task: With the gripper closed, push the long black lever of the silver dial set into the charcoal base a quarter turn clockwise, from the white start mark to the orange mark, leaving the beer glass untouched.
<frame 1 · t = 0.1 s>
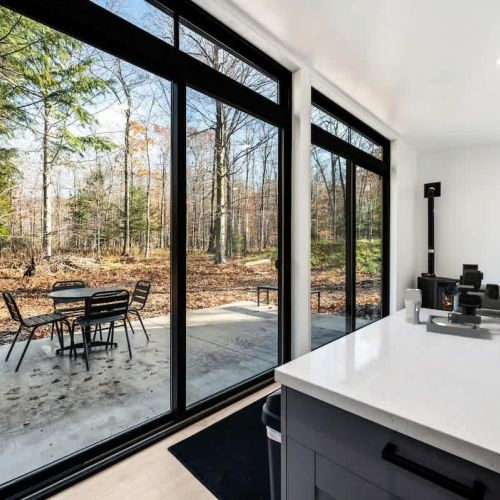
hand: (471, 292, 126), 17 cm above the counter, tool horizontal, fingers open, 9 cm apart
dial base: (452, 329, 133), on the counter
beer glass: (412, 322, 145), on the counter
dial: (455, 319, 132), point 4 cm above the counter, hinge at 0.0°
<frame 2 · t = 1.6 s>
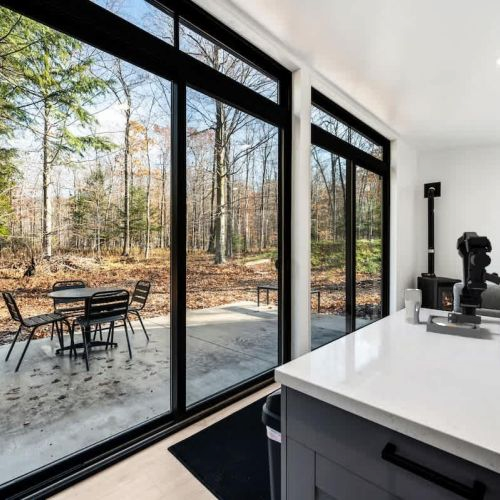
hand: (475, 303, 133), 11 cm above the counter, tool pointing down, fingers open, 8 cm apart
nothing on the counter moved.
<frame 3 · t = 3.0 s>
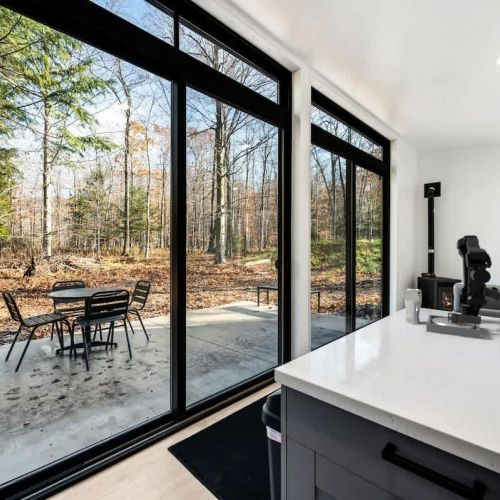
hand: (475, 317, 133), 5 cm above the counter, tool pointing down, fingers closed
nothing on the counter moved.
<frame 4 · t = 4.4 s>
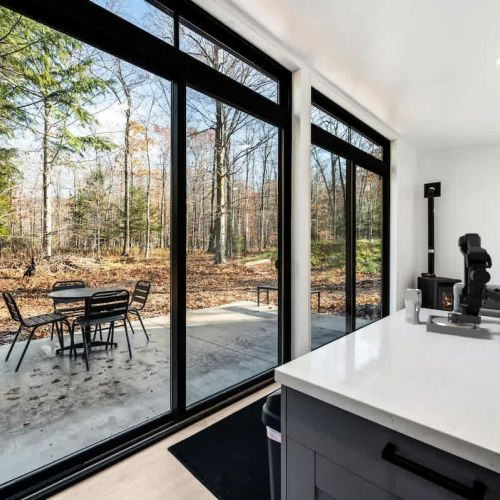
hand: (475, 319, 130), 5 cm above the counter, tool pointing down, fingers closed
dial: (455, 319, 132), point 4 cm above the counter, hinge at 0.0°, touching gripper
everything else where it was.
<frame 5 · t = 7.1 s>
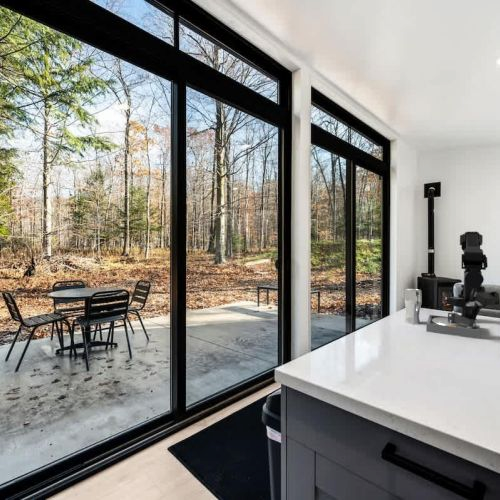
hand: (472, 322, 126), 5 cm above the counter, tool pointing down, fingers closed
dial: (454, 320, 132), point 4 cm above the counter, hinge at -48.8°, touching gripper
everything else where it was.
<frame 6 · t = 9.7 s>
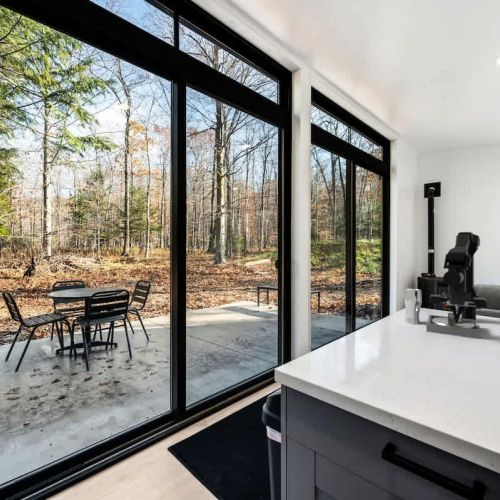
hand: (456, 322, 126), 5 cm above the counter, tool pointing down, fingers closed
dial: (452, 319, 132), point 4 cm above the counter, hinge at -93.6°, touching gripper
everything else where it was.
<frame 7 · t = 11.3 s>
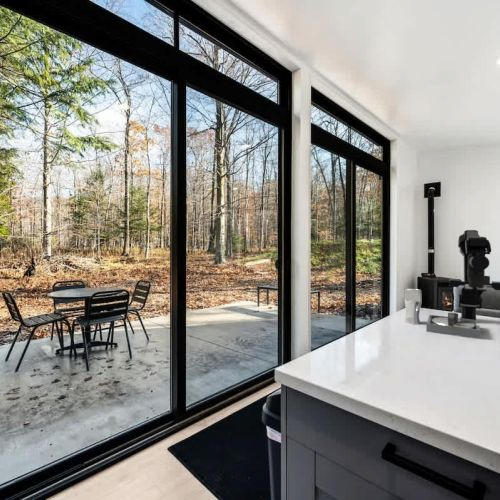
hand: (475, 305, 131), 11 cm above the counter, tool pointing down, fingers closed
dial: (452, 319, 132), point 4 cm above the counter, hinge at -94.2°
everything else where it was.
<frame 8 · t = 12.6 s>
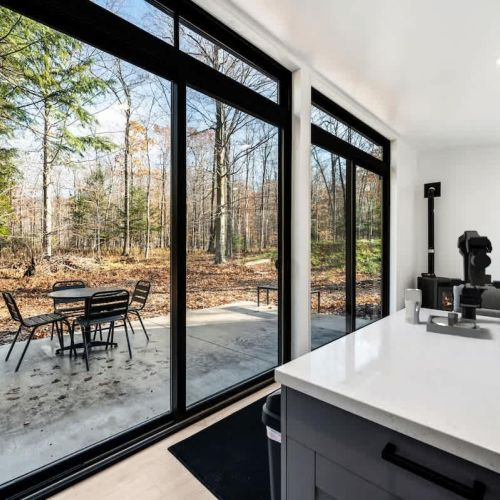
hand: (476, 304, 132), 11 cm above the counter, tool pointing down, fingers closed
nothing on the counter moved.
at the end: dial at -94° (first picture: +0°); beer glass moved 0.2 cm from its start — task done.
